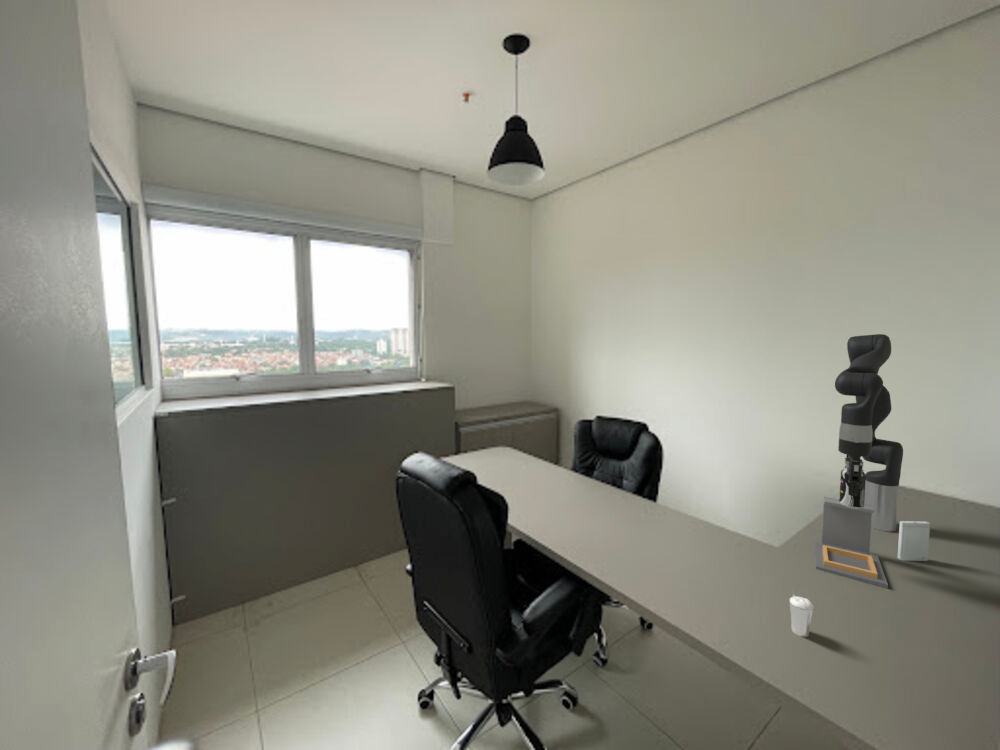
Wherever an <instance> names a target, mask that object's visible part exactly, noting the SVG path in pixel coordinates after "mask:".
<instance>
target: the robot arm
mask: <svg viewBox="0 0 1000 750" xmlns="http://www.w3.org/2000/svg"><path fill="white" fill-rule="evenodd" d="M846 347H847V354H848V360H849V363H850V364H849V366H848V368H845V369H844V370H843V371H841V372H840V373H839V374H838V376H837V377H836V379H835V381H834V388H835V390H836V391H837V392H838V393H839V394H840V395H843V396H847V397H848V396H850V397H852V396H853V397H855V402H854V403H853V402H851V403H845V404H843V405H842V406H841V413H840V415H841V418H840V424H839V425H840V426H839V433H838V447H837V448H838V452H839V453H841V454H843V455H846V456H845V457H844V465H845V466H847V475H849V480H848V482H849V490H848V494H849V495H851V496H858V492H859V485H860V484H861V476H862V469H863V467H864V461H866V462H869V463H873V464H879V465H882V466H885V469H882V470H871V471H866V473H865V475H866V482H865V499H864V504H869V505H872V507H873V509H874V513H872V518H871V529H874V530H877V531H882V532H896V531H897V521H898V520H897V519H898V505H899V493H900V491H899V490H900V481H901V471H902V466H903V465H902V463H903V458H904V448H903V445H902V444H901V443H900V442H898V441H895V440H887V439H881V438H877V437H876V430H877V428H878V427H880V425H881V424H882V423H883V422H884V421H885V420H886V419H887V418H888V417H889V416H890V413H891V412H892V401H891V394H890V391H889V390H888V389H887V387H886V386H884V381H883V379H882V378H883V377H881V375H879V371H880V368H881V367H882V366H883V365H884V364H885V363H886V362H887V361H888V360H889V358H890V356H891V354H892V342H891V339H890V337H889V336H888V335H886V334H885V333H883V334H882V333H877V334H866V335H856V336H855V335H854V336H851V337H849V338H848V340H847V343H846ZM861 457H862V458H863V459H864V460H863V459H861ZM845 466H844V467H845ZM849 470H850V471H849ZM852 476H856V477H857V480H856V479H852Z"/></svg>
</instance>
